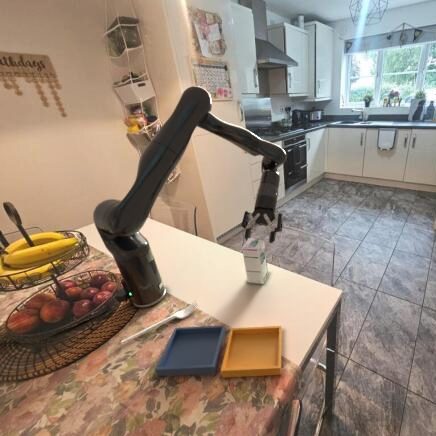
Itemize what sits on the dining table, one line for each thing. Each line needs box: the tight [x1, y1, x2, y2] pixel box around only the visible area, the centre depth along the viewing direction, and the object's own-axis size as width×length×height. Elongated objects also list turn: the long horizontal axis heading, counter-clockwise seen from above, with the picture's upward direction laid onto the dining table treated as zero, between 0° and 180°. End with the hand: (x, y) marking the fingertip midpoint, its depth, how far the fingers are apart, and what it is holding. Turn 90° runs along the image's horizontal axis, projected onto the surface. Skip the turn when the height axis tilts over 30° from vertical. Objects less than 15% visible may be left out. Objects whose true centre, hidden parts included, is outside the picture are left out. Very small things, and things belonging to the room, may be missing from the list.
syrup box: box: [241, 237, 269, 285], centre depth 82 cm, size 6×6×14 cm
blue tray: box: [154, 325, 227, 377], centre depth 60 cm, size 13×11×2 cm
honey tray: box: [220, 325, 283, 379], centre depth 59 cm, size 13×11×2 cm
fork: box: [120, 300, 199, 345], centre depth 68 cm, size 3×20×2 cm, turn 127°
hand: (258, 241), depth 83 cm, fingers open, 8 cm apart
